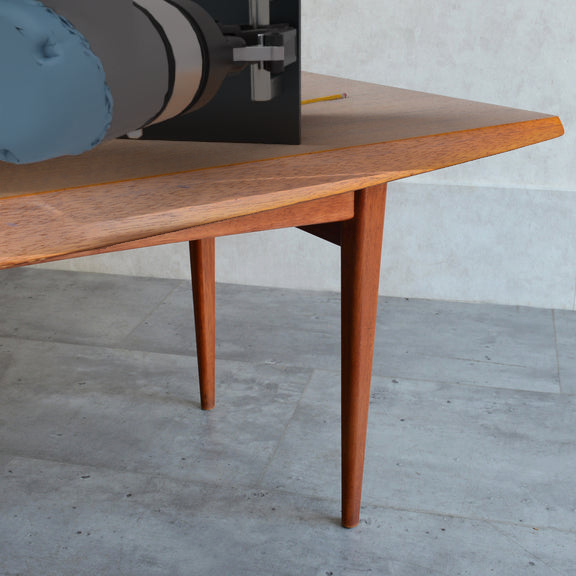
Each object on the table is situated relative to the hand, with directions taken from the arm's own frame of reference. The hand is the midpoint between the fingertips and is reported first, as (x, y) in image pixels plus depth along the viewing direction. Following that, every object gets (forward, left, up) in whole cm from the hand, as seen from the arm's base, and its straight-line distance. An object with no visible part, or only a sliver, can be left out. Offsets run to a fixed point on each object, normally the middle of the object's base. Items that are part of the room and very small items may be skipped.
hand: (268, 39), depth 67 cm
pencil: (+12, +31, -10) cm, 35 cm away
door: (-7, +2, -10) cm, 12 cm away
